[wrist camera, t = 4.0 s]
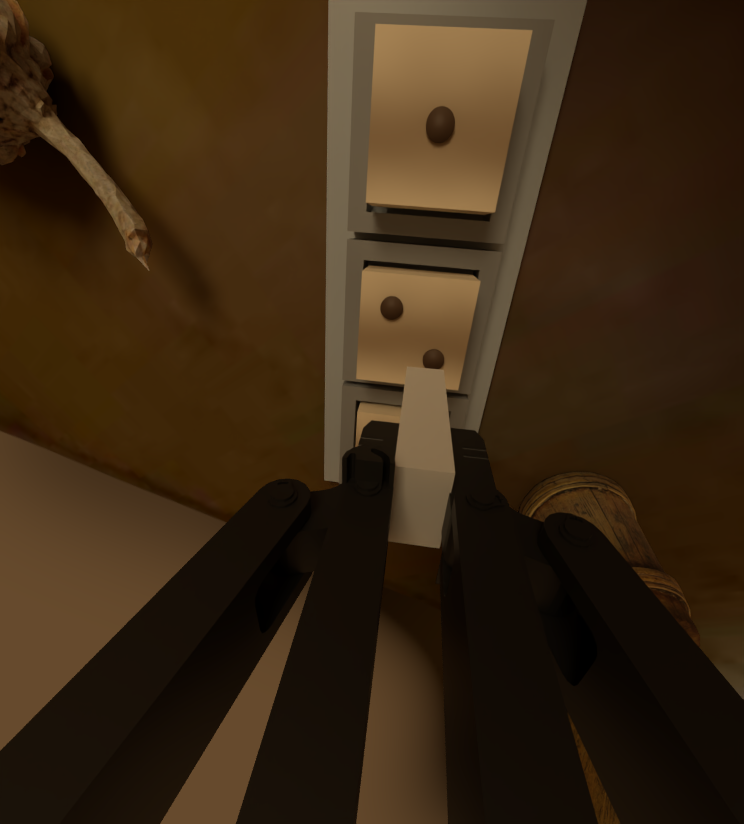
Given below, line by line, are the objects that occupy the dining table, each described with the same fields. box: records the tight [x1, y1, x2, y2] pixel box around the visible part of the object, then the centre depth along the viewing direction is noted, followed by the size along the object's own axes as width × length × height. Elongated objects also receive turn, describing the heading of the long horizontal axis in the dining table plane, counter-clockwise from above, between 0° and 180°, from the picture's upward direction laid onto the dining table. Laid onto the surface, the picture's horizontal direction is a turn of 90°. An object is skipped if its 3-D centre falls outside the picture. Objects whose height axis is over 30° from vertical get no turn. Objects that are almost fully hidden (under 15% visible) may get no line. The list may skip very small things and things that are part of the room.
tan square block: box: [366, 24, 533, 215], centre depth 16 cm, size 6×6×3 cm
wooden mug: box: [519, 472, 700, 824], centre depth 24 cm, size 9×14×18 cm, turn 152°
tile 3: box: [355, 401, 402, 447], centre depth 26 cm, size 6×6×3 cm
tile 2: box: [356, 265, 481, 390], centre depth 20 cm, size 6×6×3 cm
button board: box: [324, 0, 587, 484], centre depth 23 cm, size 30×12×3 cm, turn 176°
